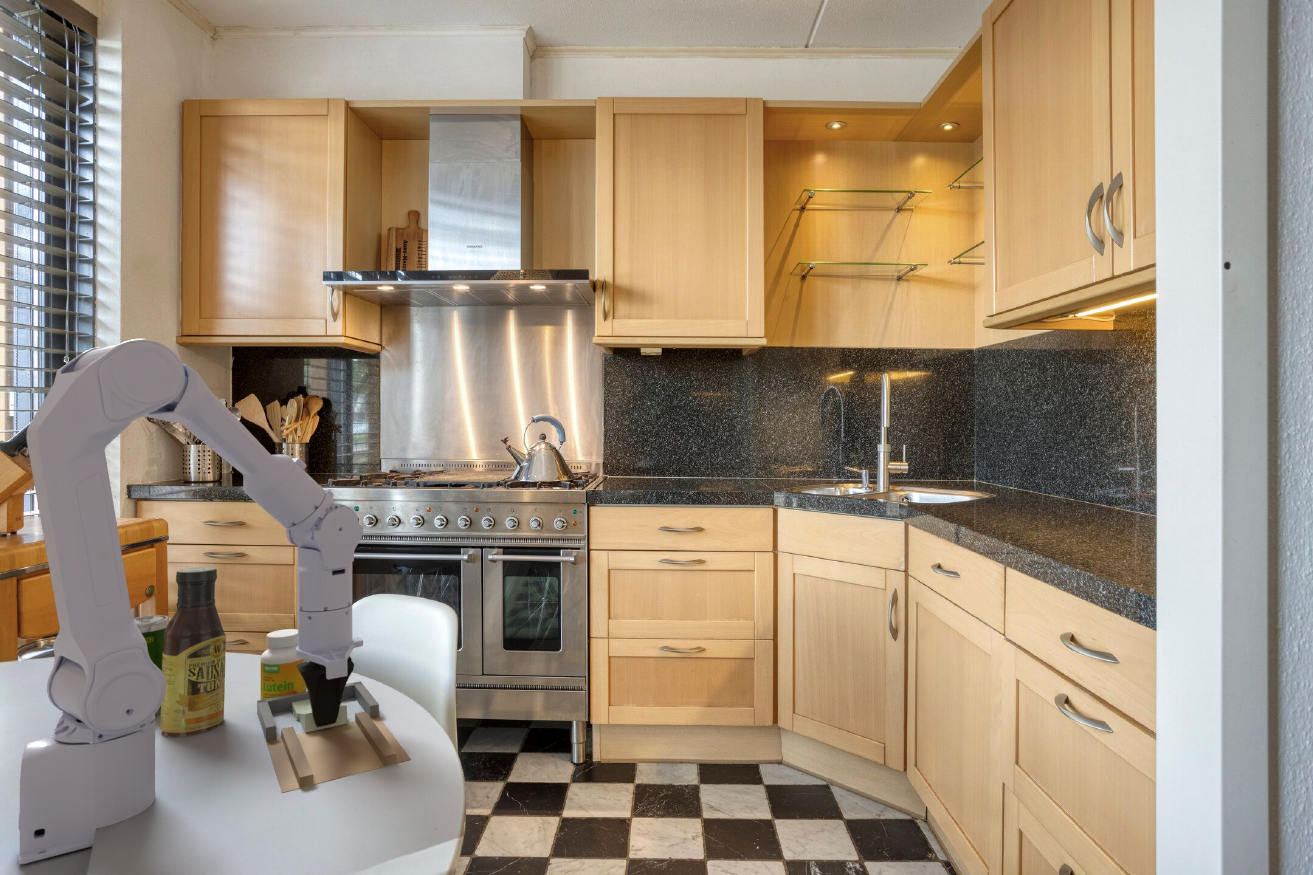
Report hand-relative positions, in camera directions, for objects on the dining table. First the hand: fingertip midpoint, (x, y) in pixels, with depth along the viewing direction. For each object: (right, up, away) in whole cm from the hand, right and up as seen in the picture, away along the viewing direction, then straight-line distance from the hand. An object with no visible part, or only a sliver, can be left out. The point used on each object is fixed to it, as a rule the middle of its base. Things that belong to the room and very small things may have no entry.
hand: (325, 723), depth 81 cm
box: (-3, -2, +5) cm, 6 cm away
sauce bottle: (-16, -3, +2) cm, 17 cm away
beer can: (-28, -3, +9) cm, 29 cm away
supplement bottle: (-11, -3, +11) cm, 16 cm away
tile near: (-1, -1, +2) cm, 3 cm away
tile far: (-4, -2, +6) cm, 8 cm away
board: (+4, -2, -5) cm, 7 cm away
